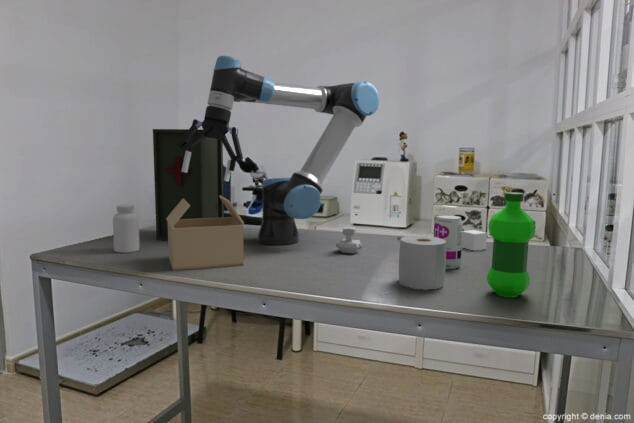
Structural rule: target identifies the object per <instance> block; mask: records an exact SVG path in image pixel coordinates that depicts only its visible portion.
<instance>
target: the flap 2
mask: <svg viewBox="0 0 634 423" xmlns="http://www.w3.org/2000/svg"><path fill="white" fill-rule="evenodd" d="M219 197H220V199H221V200H222V202H223V203H224V206H225V208H226V209H227V211H228V213H229V214H230V217H233V218H234V219H235V220H237V221H238V222H240V223H241V224H242V225H244V224H245V222H244V220H243V218H242V217H241V215H240V214H239V213H238V211H237V210H236V208H235V207H234V205H233V203H232V202H231V200H229V199H227V198H226V197H224V196H223V197H222V196H221V195H220V196H219Z"/></svg>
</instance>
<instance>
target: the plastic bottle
mask: <svg viewBox="0 0 634 423" xmlns="http://www.w3.org/2000/svg"><path fill="white" fill-rule="evenodd" d="M524 196H525V194H524V193H523V192H516V191H510V192H508V191H506V192H504V195H503V200H504V201H505V206H504V207H503V208H502V209H501V210H499V211H498V212H496V213H495V214H494V215H493V216H492V217H491V218H490V220H489V222H488V234H489V235H490V236H491V237H492V238H493V239H492V240H493V241H492V255H491V256H492V257H491V267H490V269H489V270H488V272H487V273H486V274H487V275H486V282H487V283H488V285H489V286H490V288H491V289H492V290H493V291H494V293H495V294H496V295H497V296H500V297H503V296H505V297H504V298H510V297H511V298H517V297H519V296H520V295H521V294H522V293H524V292H525V291H527V289H528V288H529V286H530V285H531V279H530V278H531V277H530V275H529V273H528V271H527V270H528V269H527V267H528V254H529V243H530V241H531V240H532V239H533V238H534V237H535V234H536V227H537V226H536V223H535V220H534V219H533V218H532V217H531V216H530V215H529V214H528V213H527V212H526V211H525V210H523V208H521V205H522V204H521V203H522V202H524ZM518 295H519V296H518ZM516 296H517V297H516Z"/></svg>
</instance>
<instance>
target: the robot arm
mask: <svg viewBox="0 0 634 423" xmlns="http://www.w3.org/2000/svg"><path fill="white" fill-rule="evenodd" d="M234 102H235V103H240V102H244V103H254V104H255V103H256V104H264V105H273V106H275V105H276V106H283V107H291V108H301V109H303V108H304V109H310V110H314V112H316V113H320V114H321V113H323V114H328V115H333V116H332V117H331V119H330V121H329V122H328V124H327V125H326V127H325V129H324V131H323V132H322V134H321V135H320V137H319V139H318V140H317V142H316V143H315V145H314V147H313V149H312V150H311V152H310V153H309V155H308V157H307V159H306V161H305V162H304V164H303V165H302V167H301V168H300V170H299V171H295V172H293V173H292V175H291V176H290V177H274V178H265V179H264V180H263V181H262V186H261V187H262V188H261V191H262V192H261V196H262V200H261V201H262V203H261V204H262V206H261V207H262V220H261V224H260V227H259V230H258V233H257V243H260V244H263V245H265V244H266V245H273V246H275V245H276V246H278V245H280V246H281V245H283V246H284V245H292V244H296V243H299V242H300V234H299V231H298V227H297V224H296V221H295V219H296V220H306V219H310V218H312V217H313V216H314V215H316V214H317V213H318V211H319V209H320V207H321V204H322V200H321V197H322V195H321V194H322V192H323V190H324V189H323V186H322V184H323V182H324V181H325V178H326V177H327V175H328V173H329V172H330V170H331V169H332V167H333V165H334V163H335V162H336V160H337V158H338V157H339V155H340V153H341V151H342V149H343V148H344V146H345V145H346V143H347V141H348V140H349V138H350V136H351V135H352V133H353V131H354V130H355V129H356V128H359V127H361V126H362V124H363V123H364V121H365V119H366V118H367V117H368V116H372V115H374V113H376V112H377V110H378V109H379V106H380V97H379V92H378V90H377V88H376V87H375V85H373V83H370V82H368V81H365V80H364V81H362V80H361V81H360V80H359V81H356V82H350V83H341V84H337V85H329V86H328V85H327V86H325V85H318V86H317V87H311V86H302V85H296V84H288V83H280V82H274V80H273V79H271V78H269V77H266V76H263V75H261V74H260V75H259V74H256V73H255V72H250V71H248V70H246V69H243V68H242V61H241V60H240V59H237V58H236V57H232V56H230V55H220V56H218V57H217V58H216V61H215V65H214V68H213V74H212V78H211V85H210V89H209V93H208V98H207V106H206V108H205V112H204V119H203V121H200V120H198V119H195V118H194V119H193V120H192V124H191V126H190V128H188V129H189V130H188V131H187V133H186V134H185V135H184V137H183V138H182V139H181V141H180V142H179V143H178V147H180V148H182V149H183V153H182V158H181V160H182V161H184V162H183V166H182V171H181V172H185V173H187V171H188V167H189V162H190V157H191V152H189V150H190V149H192V148H193V147H194V146H195V145H196V144H198V143H199V142H200V141H201V140H203V139H204V138H206V137H209V138H215V139H218V140H219V139H220V140H221V141H222V143H223V147H224V149H225V150H226V152H227V154H228V156H229V158H230V159H229V158H228V159H227V162H226V167H225V172H224V175H223V182H224V181H225V182H230V177H231V173H232V172H234V171H235V167H236V163H237V161H243V159H244V156H243V155H244V154H243V152H242V149H241V144H240V140H239V129H238V128H237V127H235V126H233V127H230V126H229V125H230V120H231V117H232V116H231V115H232V110H233V107H234V106H233V105H234ZM201 127H202V128H201ZM200 128H201V130H202V131H201V132H200V133H199V134H198V135H197V136H196V137H195V138H193V139H192V140H191V141H190V142H189V140H190V139H191V138H192V136H193V135H194V134H195V132H196V131H197V129H200ZM228 133H229V134H230V135H231V139H232V143H233V146H234V149H233V148H232V146H231V144H230V143H229V140H228V138H227V136H226V135H227V134H228ZM188 142H189V143H188ZM234 151H235V152H234Z"/></svg>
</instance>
